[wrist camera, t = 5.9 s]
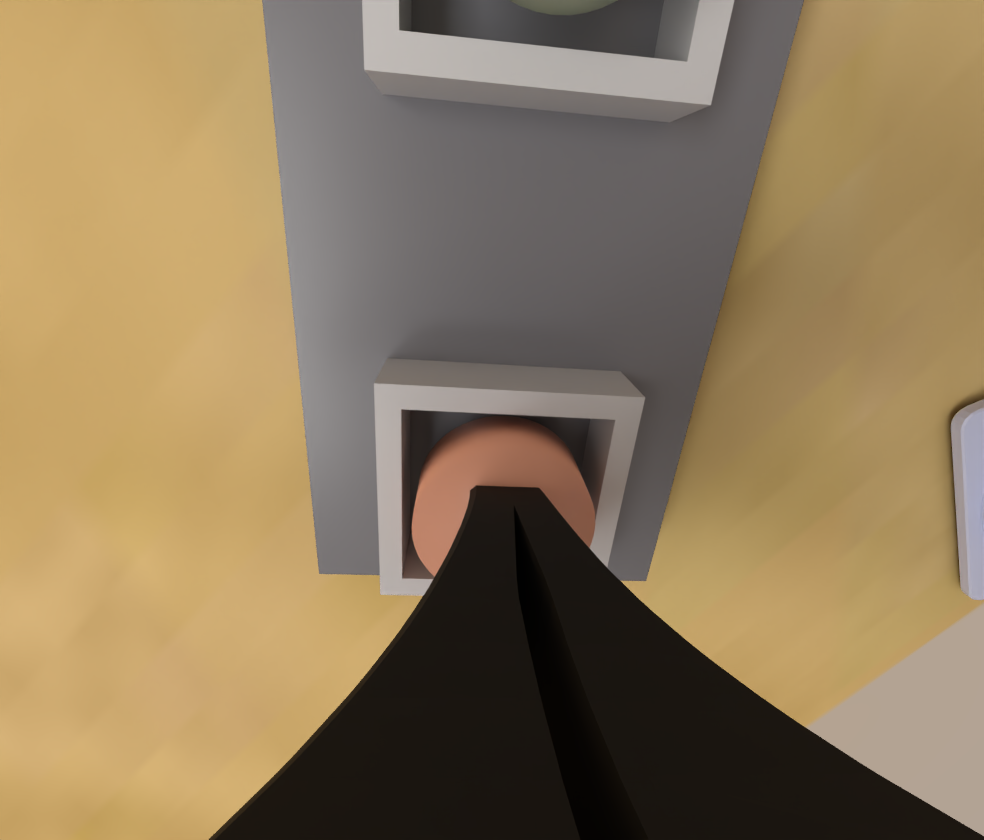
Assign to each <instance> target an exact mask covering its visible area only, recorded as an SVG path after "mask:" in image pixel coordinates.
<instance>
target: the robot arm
mask: <svg viewBox="0 0 984 840" xmlns="http://www.w3.org/2000/svg"><path fill="white" fill-rule="evenodd" d="M951 438H952V454H953V471H954V487H955V503H956V520H957V536H958V552H959V569H960V585H961V590H962V591H963V592H964V593H965V594H966V595H968V596H969V597H970V598H972V599H974V600H983V599H984V399H983V400H980V401H978V402H975V403H973V404H970V405H968V406H966V407H964V408H962V409H960V410H959V411H958V412H957V413H956V414H955V416H954V417H953V419H952V422H951ZM209 840H984V836H982V835H981V834H979V833H977V832H975V831H974V830H972V829H970V828H968V827H967V826H965V825H964V824H962V823H960V822H958V821H957V820H955V819H953V818H952V817H950V816H948V815H947V814H945V813H943V812H941V811H940V810H938V809H936V808H935V807H933V806H931V805H930V804H928V803H926V802H924V801H922V800H921V799H919V798H918V797H916V796H914V795H912V794H911V793H909V792H907V791H906V790H904V789H902V788H901V787H899V786H897V785H895V784H894V783H892V782H890V781H889V780H887V779H885V778H884V777H882V776H880V775H878V774H877V773H875V772H874V771H872V770H870V769H869V768H867V767H865V766H864V765H862V764H860V763H859V762H857V761H856V760H854V759H853V758H851V757H850V756H848V755H847V754H845V753H844V752H842V751H841V750H839V749H838V748H836V747H835V746H833V745H831V744H830V743H828V742H827V741H825V740H824V739H822V738H821V737H819V736H818V735H816V734H814V733H813V732H811V731H810V730H808V729H807V728H805V727H804V726H802V725H801V724H799V723H798V722H796V721H795V720H793V719H792V718H790V717H789V716H787V715H786V714H785V713H783V712H782V711H780V710H779V709H777V708H776V707H774V706H773V705H772V704H770V703H769V702H767V701H766V700H764V699H763V698H761V697H760V696H759V695H757V694H756V693H754V692H753V691H752V690H750V689H749V688H748V687H746V686H745V685H744V684H742V683H741V682H740V681H738V680H737V679H736V678H734V677H733V676H732V675H730V674H729V673H728V672H726V671H725V670H724V669H722V668H721V667H719V666H718V665H717V664H715V663H714V662H713V661H711V660H710V659H709V658H708V657H706V656H705V655H704V654H703V653H701V652H700V651H699V650H698V649H696V648H695V647H694V646H692V645H691V644H690V643H689V642H688V641H686V640H685V639H684V638H683V637H682V636H680V635H679V634H678V633H677V632H676V631H675V630H673V629H672V628H671V627H670V626H669V625H668V624H666V623H665V622H664V621H663V620H662V619H661V618H659V617H658V616H657V615H656V614H655V613H654V612H652V611H651V610H650V609H649V608H648V607H647V606H646V605H645V604H644V603H643V602H641V601H640V600H639V599H638V598H637V597H636V596H635V595H634V594H633V593H632V592H631V591H630V590H629V589H628V588H627V587H626V586H625V585H624V584H623V583H622V582H621V581H620V580H619V579H618V578H617V577H616V576H615V575H614V574H613V573H612V572H611V571H610V570H609V569H608V568H607V567H606V566H605V565H604V564H603V563H602V562H601V561H600V559H599V558H598V557H597V556H596V555H595V554H594V553H593V552H592V550H591V549H590V548H589V547H588V546H587V545H586V544H585V543H584V541H583V540H582V539H581V538H580V537H579V536H578V534H577V533H576V532H575V531H574V530H573V529H572V527H571V526H570V525H569V524H568V522H567V521H566V520H565V519H564V518H563V516H562V515H561V514H560V513H559V511H558V510H557V509H556V508H555V506H554V505H553V504H552V503H551V501H550V500H549V499H548V497H547V496H546V495H545V494H544V493H543V491H542V490H541V489H540V488H537V487H507V486H480V485H476V486H475V487H473V488H472V489H471V490H470V497H469V502H468V506H467V509H466V512H465V515H464V518H463V521H462V523H461V526H460V528H459V530H458V532H457V535H456V537H455V539H454V541H453V543H452V546H451V548H450V550H449V552H448V554H447V556H446V558H445V559H444V561H443V563H442V565H441V567H440V568H439V570H438V572H437V574H436V575H435V577H434V579H433V581H432V582H431V584H430V586H429V588H428V589H427V591H426V592H425V594H424V596H423V597H422V599H421V600H420V602H419V603H418V605H417V606H416V608H415V610H414V611H413V613H412V614H411V615H410V617H409V618H408V620H407V621H406V623H405V624H404V625H403V627H402V628H401V630H400V631H399V633H398V634H397V635H396V637H395V638H394V639H393V641H392V642H391V643H390V644H389V646H388V647H387V648H386V650H385V651H384V652H383V653H382V655H381V656H380V657H379V659H378V660H377V661H376V663H375V664H374V665H373V666H372V668H371V669H370V670H369V671H368V673H367V674H366V675H365V676H364V678H363V679H362V680H361V681H360V682H359V684H358V685H357V686H356V687H355V688H354V690H353V691H352V692H351V693H350V694H349V695H348V697H347V698H346V699H345V700H344V701H343V702H342V703H341V704H340V705H339V706H338V708H337V709H336V710H335V711H334V712H333V713H332V714H331V715H330V716H329V717H328V719H327V720H326V721H325V722H324V723H323V724H322V725H321V726H320V727H319V728H318V730H317V731H316V732H315V733H314V734H313V735H312V736H311V737H310V738H309V739H308V741H307V742H306V743H305V744H304V745H303V746H302V747H301V748H300V749H299V750H298V752H297V753H296V754H295V755H294V756H293V757H292V758H291V759H290V760H289V761H288V762H287V763H286V764H285V765H284V766H283V767H282V768H281V769H280V770H279V771H278V772H277V773H276V774H275V775H274V776H273V777H272V778H271V779H270V780H269V781H268V782H267V783H266V784H265V785H264V786H263V787H262V788H261V789H260V790H259V791H258V792H257V793H256V794H255V795H254V796H253V797H252V798H251V799H250V800H249V801H248V802H247V803H246V804H245V805H244V806H243V807H242V808H241V809H240V810H239V811H238V812H236V813H235V814H234V815H233V816H232V817H231V818H230V819H229V820H228V821H227V822H226V823H225V824H224V825H223V826H222V827H221V828H220V829H219V830H218V831H217V832H216V833H215V834H214V835H213V836H212V837H211V838H210V839H209Z"/></svg>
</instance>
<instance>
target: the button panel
mask: <svg viewBox="0 0 984 840" xmlns="http://www.w3.org/2000/svg"><path fill="white" fill-rule="evenodd" d="M262 2H263V12H264V22H265V32H266V42H267V53H268V63H269V73H270V83H271V93H272V103H273V113H274V123H275V133H276V143H277V153H278V163H279V174H280V184H281V194H282V204H283V214H284V224H285V234H286V244H287V254H288V264H289V274H290V284H291V295H292V305H293V315H294V325H295V335H296V345H297V355H298V365H299V375H300V385H301V395H302V405H303V416H304V426H305V436H306V446H307V456H308V466H309V476H310V486H311V496H312V506H313V516H314V526H315V537H316V547H317V557H318V567H319V574H353V575H380V595H422V596H424V594H425V592H426V591H427V589H428V588H429V586H430V584H431V582H432V581H433V579H434V576H433V575H432V574H431V573H430V572H429V571H428V569H427V568H426V567H425V566H424V565H423V563H422V561H421V560H420V558H419V556H418V554H417V552H416V549H415V546H414V542H413V538H412V518H413V512H414V506H415V501H416V495H417V489H418V484H419V478H420V473H421V469H422V466H423V464H424V462H425V459H426V457H427V456H428V454H429V452H430V451H431V449H432V448H433V447H434V446H435V444H436V443H437V442H438V441H439V440H440V439H441V438H442V437H444V436H445V435H446V434H447V433H449V432H450V431H452V430H453V429H455V428H457V427H459V426H460V425H462V424H465V423H467V422H470V421H472V420H476V419H480V418H483V417H490V416H513V417H520V418H524V419H528V420H531V421H534V422H536V423H539V424H541V425H542V426H544V427H546V428H548V429H549V430H551V431H552V432H554V433H555V434H556V435H557V436H558V437H559V438H560V439H561V440H562V441H563V442H564V443H565V444H566V446H567V447H568V448H569V450H570V452H571V453H572V455H573V457H574V459H575V462H576V464H577V466H578V469H579V471H580V473H581V476H582V478H583V480H584V483H585V485H586V487H587V490H588V492H589V494H590V497H591V500H592V502H593V506H594V511H595V531H594V536H593V540H592V543H591V545H590V547H589V548H590V549H591V550H592V552H593V553H594V554H595V555H596V556H597V557H598V558H599V559H600V561H601V562H602V563H603V564H604V565H605V566H606V567H607V568H608V569H609V570H610V571H611V572H612V573H613V574H614V575H615V576H616V577H617V578H618V579H619V580H623V581H646V579H647V575H648V572H649V568H650V564H651V561H652V557H653V553H654V550H655V546H656V542H657V539H658V535H659V531H660V528H661V524H662V520H663V517H664V513H665V509H666V506H667V502H668V498H669V495H670V491H671V487H672V484H673V480H674V476H675V472H676V469H677V465H678V461H679V458H680V454H681V450H682V447H683V443H684V439H685V436H686V432H687V428H688V425H689V421H690V417H691V414H692V410H693V406H694V403H695V399H696V395H697V392H698V388H699V384H700V381H701V377H702V373H703V370H704V366H705V362H706V358H707V355H708V351H709V347H710V344H711V340H712V336H713V333H714V329H715V325H716V322H717V318H718V314H719V311H720V307H721V303H722V300H723V296H724V292H725V289H726V285H727V281H728V278H729V274H730V270H731V267H732V263H733V259H734V255H735V252H736V248H737V244H738V241H739V237H740V233H741V230H742V226H743V222H744V219H745V215H746V211H747V208H748V204H749V200H750V197H751V193H752V189H753V186H754V182H755V178H756V175H757V171H758V167H759V164H760V160H761V156H762V152H763V149H764V145H765V141H766V138H767V134H768V130H769V127H770V123H771V119H772V116H773V112H774V108H775V105H776V101H777V97H778V94H779V90H780V86H781V83H782V79H783V75H784V72H785V68H786V64H787V61H788V57H789V53H790V50H791V46H792V42H793V38H794V35H795V31H796V27H797V24H798V20H799V16H800V13H801V9H802V5H803V2H804V0H618V1H615V2H613V3H611V4H609V5H607V6H605V7H603V8H600V9H597V10H594V11H590V12H587V13H582V14H575V15H550V14H545V13H540V12H535V11H532V10H529V9H527V8H524V7H521V6H519V5H517V4H515V3H513V2H512V1H510V0H262Z"/></svg>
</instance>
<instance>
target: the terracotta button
mask: <svg viewBox="0 0 984 840" xmlns="http://www.w3.org/2000/svg"><path fill="white" fill-rule="evenodd" d="M476 485H480V486H507V487H537V488H540V489H541V490H542V491H543V493H544V494H545V495H546V496H547V497H548V499H549V500H550V501H551V503H552V504H553V505H554V506H555V508H556V509H557V510H558V511H559V513H560V514H561V515H562V516H563V518H564V519H565V520H566V521H567V522H568V524H569V525H570V526H571V527H572V529H573V530H574V531H575V532H576V533H577V534H578V536H579V537H580V538H581V539H582V540H583V541H584V543H585V544H586V545H587V546H588V547H590V545H591V543H592V540H593V536H594V531H595V511H594V506H593V502H592V500H591V497H590V494H589V492H588V490H587V487H586V485H585V483H584V480H583V478H582V476H581V473H580V471H579V469H578V466H577V464H576V462H575V459H574V457H573V455H572V453H571V452H570V450H569V448H568V447H567V446H566V444H565V443H564V442H563V441H562V440H561V439H560V438H559V437H558V436H557V435H556V434H555V433H554V432H552V431H551V430H549V429H548V428H546V427H544V426H542V425H541V424H539V423H536V422H534V421H531V420H528V419H524V418H520V417H513V416H490V417H483V418H480V419H476V420H472V421H470V422H467V423H465V424H462V425H460V426H459V427H457V428H455V429H453V430H452V431H450V432H449V433H447V434H446V435H445V436H444V437H442V438H441V439H440V440H439V441H438V442H437V443H436V444H435V446H434V447H433V448H432V449H431V451H430V452H429V454H428V456H427V457H426V459H425V462H424V464H423V466H422V469H421V473H420V478H419V484H418V489H417V495H416V501H415V506H414V512H413V518H412V538H413V542H414V546H415V549H416V552H417V554H418V556H419V558H420V560H421V561H422V563H423V565H424V566H425V567H426V568H427V569H428V571H429V572H430V573H431V574H432V575H433V576H434V577H435V575H436V574H437V572H438V570H439V568H440V567H441V565H442V563H443V561H444V559H445V558H446V556H447V554H448V552H449V550H450V548H451V546H452V543H453V541H454V539H455V537H456V535H457V532H458V530H459V528H460V526H461V523H462V521H463V518H464V515H465V512H466V509H467V506H468V502H469V497H470V490H471V489H472V488H473V487H475V486H476Z"/></svg>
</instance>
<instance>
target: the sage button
mask: <svg viewBox="0 0 984 840" xmlns="http://www.w3.org/2000/svg"><path fill="white" fill-rule="evenodd" d="M510 1H512V2H513V3H515V4H517V5H519V6H521V7H524V8H527V9H529V10H532V11H535V12H540V13H545V14H550V15H575V14H582V13H587V12H590V11H594V10H597V9H600V8H603V7H605V6H607V5H609V4H611V3H613V2H615V1H618V0H510Z"/></svg>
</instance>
